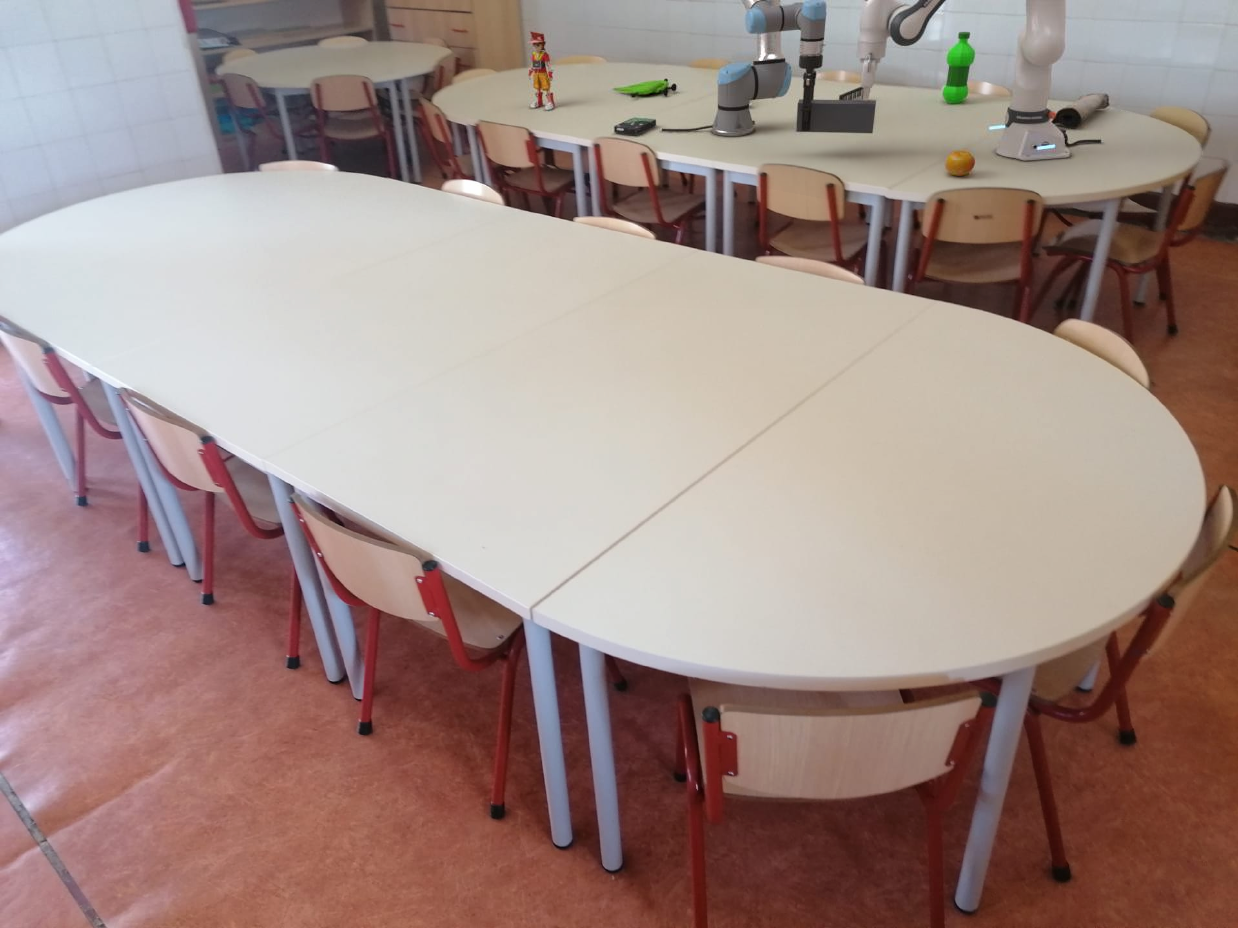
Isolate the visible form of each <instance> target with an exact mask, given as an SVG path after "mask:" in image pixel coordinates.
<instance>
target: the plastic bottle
mask: <svg viewBox="0 0 1238 928" xmlns="http://www.w3.org/2000/svg"><path fill="white" fill-rule="evenodd" d="M970 36H971V32H970V31H959V32H958V36H957V39H958V42H957V43H956V44H954V45H953V46H952V47H951V48H950V49H949V50H948V52H947V54H946V63H947V64H948V69H947V70H948V71H947V76H946V77H947V78H946V84H945V85H944V87H943V90H942V97H943V99H944V100H945V101H946V102H947V103H948V104H960V103H961V102H963V101H964V100H966V98H967V96H968V95H969V85H968V79H969V73H970V67H971V65H972V64H973V63H974V61H975V57H976V51H975V49H974V47H972V45H971V44H970V43H969V42H968V41H969V39H970V38H971V37H970Z"/></svg>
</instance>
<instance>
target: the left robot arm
mask: <svg viewBox="0 0 1238 928" xmlns="http://www.w3.org/2000/svg"><path fill="white" fill-rule="evenodd" d="M741 2H742V4H743V6H744V8H745V10H746V12H745V17H744V23H745V29H746V32H747V33H749V34H751V35H755V34H756V52H757V53H756V56H755V57H754V59H753V60H752V65H751V63H750V62H749V61H736V62H732V63H727V64H725V65H723V66H722V67H720V68H719V70H718V75H717V111H716V114H715V118H714V120H713V124H711V125H706V126H700V127H694V128H661V131H662V132H696V131H701V130H706V129H712V133H713V134H715V135H717V136H721V137H741V136H746V135H750V134H752V133H754V127H755V125H756V120H753V118H752V115H751V111H750V107H749V103H750V101H757V100H758V101H759V100H768V99H777V98H781V97H784V96H785V95H786V94H787V93H788V92H789V89H790V87H791V83H792V77H793V76H792V74H793V73H792V69H791V68H792V66H791V64H790V63H789V62H788V61H786V56H785V55H784V54H783V53H782V32H790V31H800V39H799V54H800V55H799V57H798V67H799V69H803V70H805V72H804V73H803V75H802V80H803V83H802V84H803V85H802V88H803V93H802V99H803V107H802V109H801V110H800V111H803V112H802V128H801V131H810V118H811V100H815V99H814V97H815V96H814V95H815V86H816V79H817V74H818V73H817V72H816V71H817V70H818V69H821V68H822V67H823V63H824V61H823V60H824V55H823V53H824V47H826V46H827V43H826V42H825V32H826V20H827V14H828V13H827V3H826V1H825V0H805V1H804V2H797V1H796V2H793V3H791V4H786V5H781V3H782V1H781V0H741ZM816 69H817V70H816Z"/></svg>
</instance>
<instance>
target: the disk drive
mask: <svg viewBox="0 0 1238 928" xmlns="http://www.w3.org/2000/svg"><path fill="white" fill-rule="evenodd" d="M656 126H657V119H655V118H647V117H646V118H645V117H635V116H634V117H631V118H629V119H627V120H625V121H622V122H620V123H618V124H616V125H614V126H613V131H614V133H615V134H620V135H629V136H638V135H641V134H642V133H644V132H646V131H649V130H651V129H653V128H655V127H656Z"/></svg>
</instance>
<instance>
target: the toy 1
mask: <svg viewBox="0 0 1238 928" xmlns="http://www.w3.org/2000/svg"><path fill="white" fill-rule="evenodd" d="M529 33H530V35H531V36H528V37H527V38H528V39H529V40H528V41H527V43H529V44H530V43H531V44H532V48H533V50H534V51H533V52H532V55H531V58H530V59H531V63H530V66H528V74H527V75H528V76H527V77H528V79H529V80H531V75H532V74H533V84H532V85H533V86H532V87H533V88H534V89H535V90H536V92H534V95H535V97H536V100H535V101H533V102H531V105H530V108H531V109H535V108H538V107H542V106H544V101H543V100H544V99H543V95H544V92H546V94H545V97H546V99H547V103H546V104H545V106H544V110H546V111H549V110H553V109H554V107H555V106H556V105H555V99H554V92H551V91H550V90H551V86H552V84H551V82H552V81H553V80H554V77H553V73H554V71H555V70H554V69H552V68H551V63H550V61H551V59H550V58H551V57H550V54H549V53H548V52H547V50H546V48H545V46H546V44H547V41H545V35H544V33H543V32H542V33H539V32H535V31H529Z"/></svg>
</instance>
